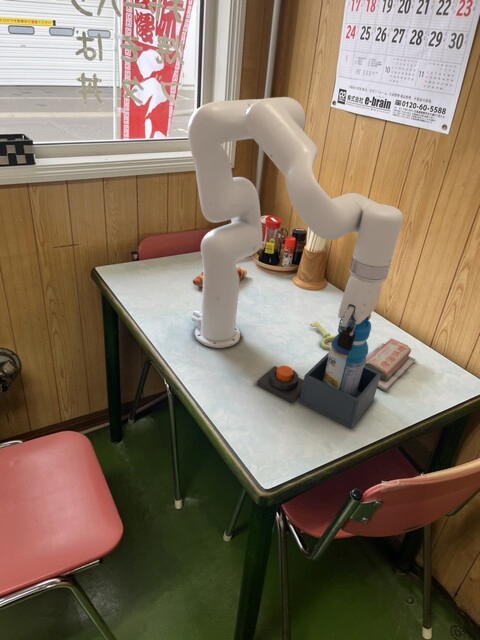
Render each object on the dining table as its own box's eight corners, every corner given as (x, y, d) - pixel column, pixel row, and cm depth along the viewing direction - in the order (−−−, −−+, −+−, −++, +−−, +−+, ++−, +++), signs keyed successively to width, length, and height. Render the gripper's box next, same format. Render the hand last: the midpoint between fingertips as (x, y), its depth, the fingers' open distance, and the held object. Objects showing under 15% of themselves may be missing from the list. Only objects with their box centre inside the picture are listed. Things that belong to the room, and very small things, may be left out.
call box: (256, 384, 117) (258, 374, 115) (274, 370, 123) (275, 359, 121) (291, 403, 112) (293, 392, 111) (308, 386, 118) (310, 376, 116)
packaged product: (385, 332, 133) (419, 348, 128) (381, 347, 136) (414, 362, 131) (354, 358, 121) (390, 377, 116) (350, 374, 124) (385, 392, 119)
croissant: (240, 281, 171) (235, 259, 170) (256, 280, 162) (252, 256, 161) (188, 293, 159) (183, 270, 158) (203, 292, 151) (198, 267, 150)
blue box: (299, 401, 113) (304, 375, 109) (324, 376, 122) (329, 350, 118) (351, 428, 107) (358, 401, 102) (373, 399, 116) (381, 373, 112)
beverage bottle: (353, 409, 109) (374, 336, 98) (317, 399, 111) (333, 326, 100) (358, 387, 116) (377, 317, 105) (323, 378, 118) (339, 308, 107)
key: (314, 326, 143) (315, 320, 141) (348, 345, 135) (349, 339, 134) (298, 334, 138) (299, 327, 137) (332, 354, 131) (334, 348, 130)
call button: (272, 377, 115) (273, 371, 114) (281, 369, 118) (282, 363, 117) (286, 384, 114) (288, 378, 113) (295, 376, 116) (296, 370, 115)
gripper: (369, 249, 104) (352, 319, 113) (333, 275, 92) (317, 350, 101) (402, 260, 100) (382, 331, 110) (370, 288, 88) (350, 365, 97)
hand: (351, 340), depth 105 cm, fingers closed on beverage bottle, 6 cm apart
